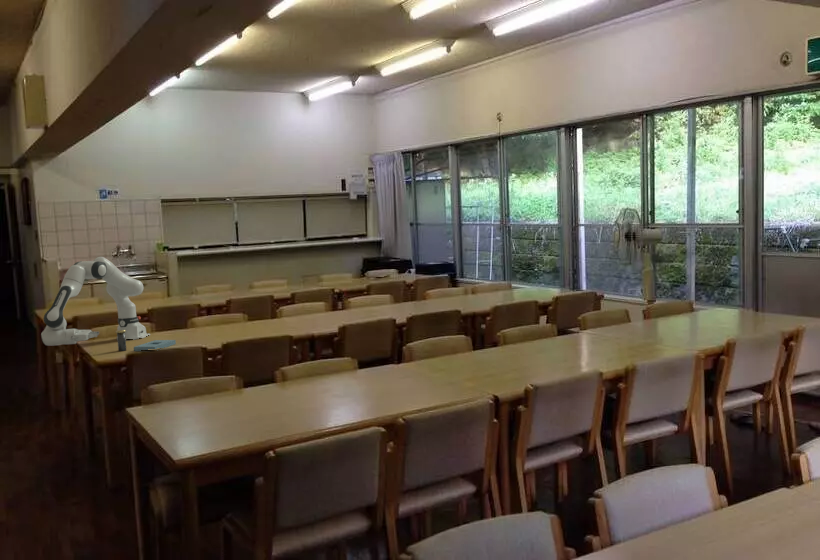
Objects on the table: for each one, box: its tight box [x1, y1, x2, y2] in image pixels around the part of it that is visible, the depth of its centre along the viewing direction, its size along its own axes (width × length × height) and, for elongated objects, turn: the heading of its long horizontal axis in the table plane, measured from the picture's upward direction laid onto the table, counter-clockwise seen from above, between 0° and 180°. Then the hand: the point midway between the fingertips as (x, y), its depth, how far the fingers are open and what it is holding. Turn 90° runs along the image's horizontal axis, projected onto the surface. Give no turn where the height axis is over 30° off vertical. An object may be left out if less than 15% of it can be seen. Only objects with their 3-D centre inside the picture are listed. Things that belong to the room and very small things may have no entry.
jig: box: [133, 339, 177, 352], centre depth 433 cm, size 22×14×2 cm, turn 167°
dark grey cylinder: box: [115, 329, 127, 352], centre depth 428 cm, size 6×6×12 cm
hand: (98, 334), depth 423 cm, fingers open, 8 cm apart
